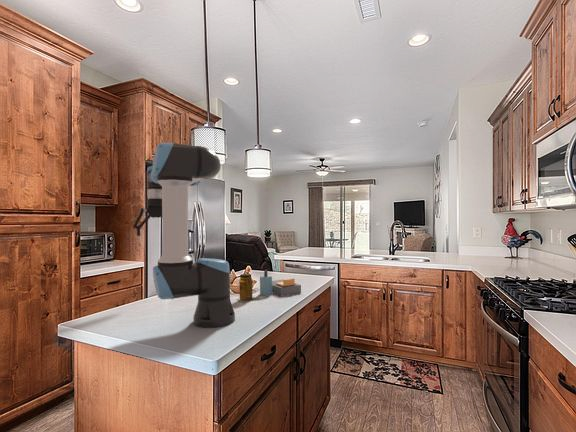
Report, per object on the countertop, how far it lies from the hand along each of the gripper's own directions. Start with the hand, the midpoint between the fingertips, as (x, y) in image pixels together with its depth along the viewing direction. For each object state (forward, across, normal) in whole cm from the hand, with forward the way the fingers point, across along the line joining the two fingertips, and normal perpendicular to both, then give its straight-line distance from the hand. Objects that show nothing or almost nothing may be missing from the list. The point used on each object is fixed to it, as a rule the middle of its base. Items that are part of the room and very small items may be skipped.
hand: (156, 242), depth 152 cm
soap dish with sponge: (+28, -58, +20) cm, 68 cm away
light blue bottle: (+28, -48, +21) cm, 60 cm away
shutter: (+23, -59, +24) cm, 67 cm away
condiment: (+28, -36, +25) cm, 53 cm away
